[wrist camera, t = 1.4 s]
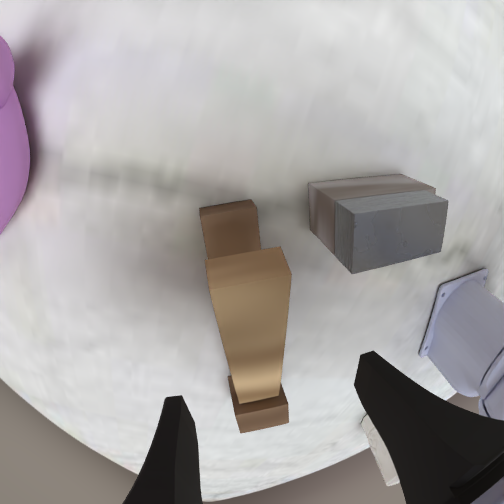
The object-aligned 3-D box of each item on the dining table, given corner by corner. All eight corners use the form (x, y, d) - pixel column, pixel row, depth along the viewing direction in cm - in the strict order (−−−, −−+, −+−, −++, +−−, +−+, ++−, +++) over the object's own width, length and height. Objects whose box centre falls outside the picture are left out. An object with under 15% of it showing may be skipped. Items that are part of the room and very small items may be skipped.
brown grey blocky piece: (375, 358, 26) (394, 387, 23) (233, 396, 25) (240, 433, 21) (401, 174, 18) (439, 190, 15) (189, 201, 17) (188, 226, 13)
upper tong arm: (273, 378, 22) (278, 395, 21) (235, 386, 21) (239, 403, 20) (280, 246, 12) (291, 274, 11) (204, 260, 12) (209, 290, 11)
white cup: (418, 387, 32) (455, 441, 23) (392, 421, 35) (421, 472, 26) (371, 399, 30) (409, 464, 21) (348, 434, 33) (375, 492, 24)
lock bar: (420, 237, 16) (440, 251, 14) (334, 255, 15) (351, 274, 14) (425, 190, 15) (448, 200, 13) (335, 200, 14) (354, 214, 12)
